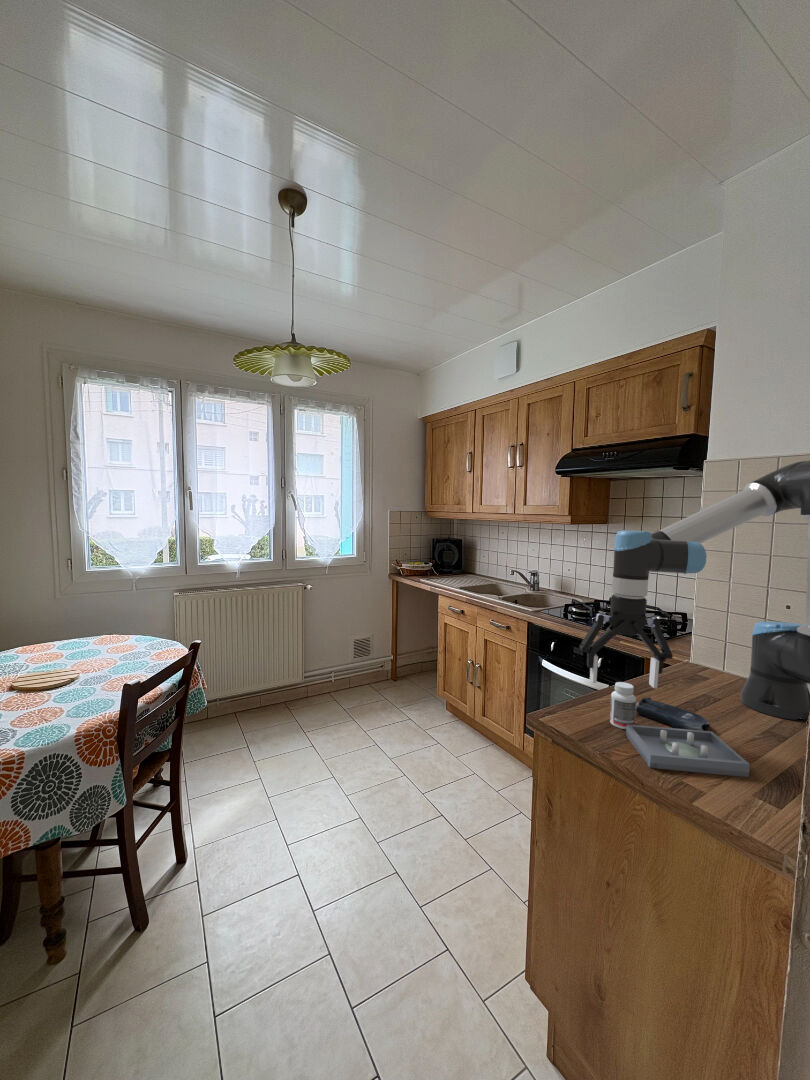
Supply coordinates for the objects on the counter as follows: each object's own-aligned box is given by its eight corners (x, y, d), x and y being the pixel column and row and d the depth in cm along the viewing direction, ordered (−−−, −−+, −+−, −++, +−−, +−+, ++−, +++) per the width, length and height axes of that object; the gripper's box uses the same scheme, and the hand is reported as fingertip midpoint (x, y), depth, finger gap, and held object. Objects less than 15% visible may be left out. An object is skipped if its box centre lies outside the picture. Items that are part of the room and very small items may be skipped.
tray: (711, 742, 98) (712, 727, 97) (748, 777, 85) (750, 759, 84) (626, 735, 100) (626, 720, 100) (649, 767, 87) (650, 750, 87)
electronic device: (633, 722, 110) (702, 738, 99) (632, 699, 111) (701, 712, 100) (648, 717, 116) (715, 731, 105) (647, 695, 117) (714, 707, 106)
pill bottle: (640, 729, 103) (642, 688, 103) (620, 731, 102) (622, 690, 101) (623, 718, 108) (625, 680, 108) (604, 720, 107) (606, 681, 107)
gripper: (677, 596, 106) (671, 682, 107) (570, 589, 109) (564, 673, 110) (694, 602, 98) (686, 694, 99) (578, 595, 101) (572, 684, 103)
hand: (622, 683), depth 105 cm, fingers open, 13 cm apart
